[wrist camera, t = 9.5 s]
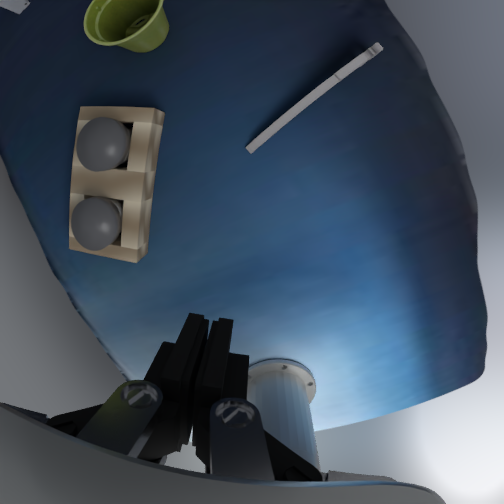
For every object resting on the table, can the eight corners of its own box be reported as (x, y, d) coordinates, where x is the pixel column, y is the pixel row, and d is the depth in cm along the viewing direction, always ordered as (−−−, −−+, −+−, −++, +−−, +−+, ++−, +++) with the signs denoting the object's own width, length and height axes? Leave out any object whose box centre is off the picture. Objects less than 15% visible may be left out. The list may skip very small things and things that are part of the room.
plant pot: (132, 78, 31) (101, 61, 23) (104, 33, 29) (73, 12, 21) (194, 37, 30) (178, 8, 22) (162, -6, 28) (142, -37, 19)
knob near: (140, 170, 35) (118, 173, 29) (99, 166, 35) (73, 169, 29) (147, 123, 33) (126, 117, 27) (105, 121, 33) (80, 116, 27)
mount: (147, 252, 38) (136, 263, 35) (84, 240, 38) (69, 248, 34) (165, 112, 33) (154, 108, 29) (96, 109, 33) (80, 106, 29)
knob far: (133, 239, 38) (113, 255, 32) (95, 232, 37) (70, 246, 31) (137, 194, 36) (115, 202, 30) (97, 189, 36) (71, 195, 30)
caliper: (365, 52, 30) (383, 36, 24) (371, 58, 30) (390, 44, 24) (245, 147, 35) (242, 145, 29) (251, 154, 35) (250, 153, 29)
